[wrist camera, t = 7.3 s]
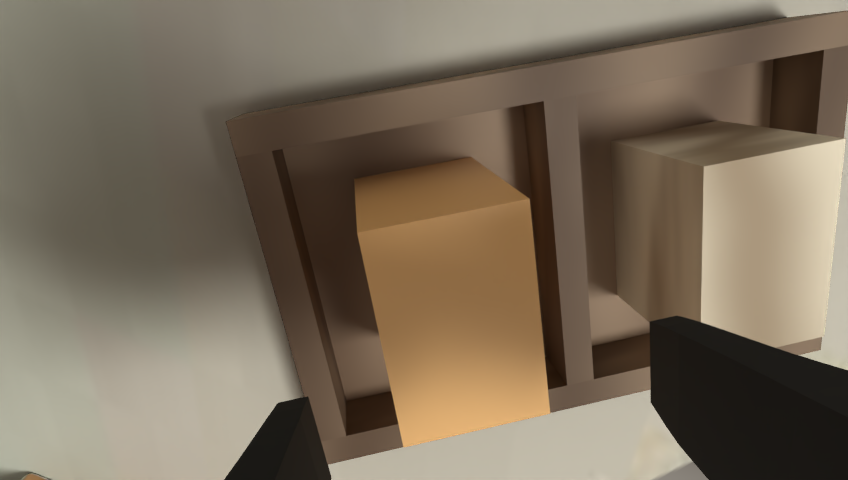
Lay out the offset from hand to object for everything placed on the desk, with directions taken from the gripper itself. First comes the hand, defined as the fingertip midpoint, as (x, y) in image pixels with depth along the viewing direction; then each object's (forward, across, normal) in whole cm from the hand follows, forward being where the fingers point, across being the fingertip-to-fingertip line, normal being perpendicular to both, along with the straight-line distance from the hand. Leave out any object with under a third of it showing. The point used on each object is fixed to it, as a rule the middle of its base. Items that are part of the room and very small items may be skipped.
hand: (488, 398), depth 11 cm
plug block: (+8, 0, 0) cm, 8 cm away
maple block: (+8, -9, 0) cm, 12 cm away
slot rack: (+9, -4, 0) cm, 10 cm away
